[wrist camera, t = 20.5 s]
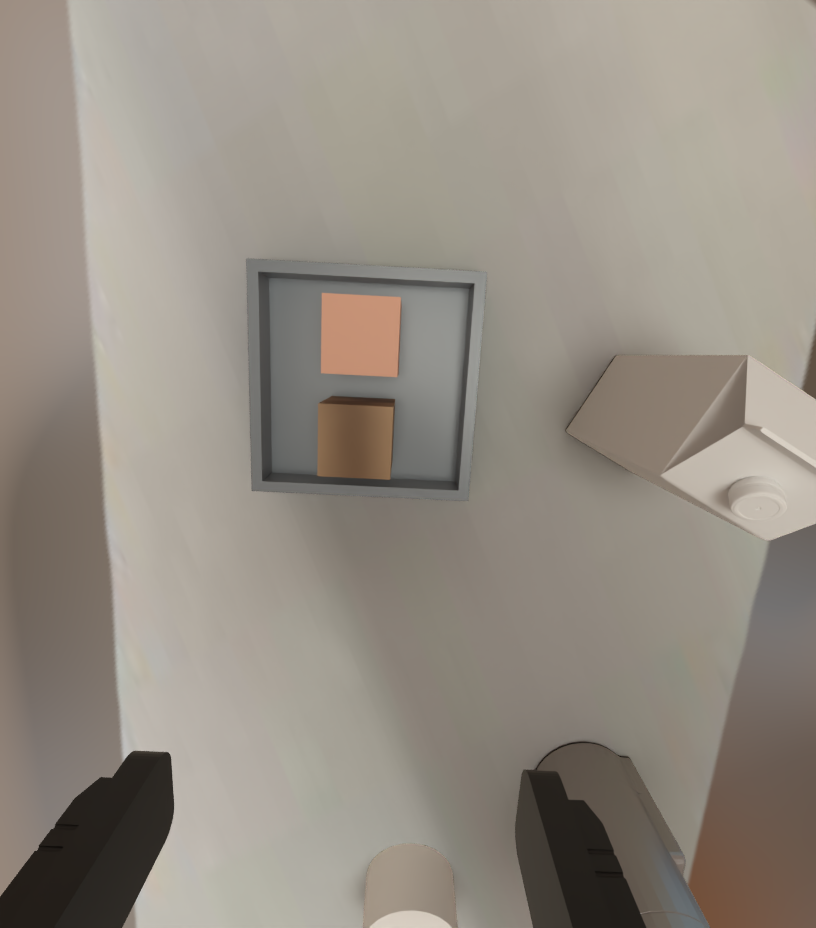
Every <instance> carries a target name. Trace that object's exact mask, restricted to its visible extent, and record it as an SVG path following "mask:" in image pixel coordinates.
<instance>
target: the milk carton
mask: <svg viewBox="0 0 816 928" xmlns="http://www.w3.org/2000/svg"><path fill="white" fill-rule="evenodd" d="M566 432H567V433H569V434H570V435H572V436H573V437H575V438H576V439H578V440H580V441H581V442H583V443H585V444H586V445H588V446H590V447H591V448H593V449H594V450H596V451H598V452H599V453H601V454H603V455H604V456H606V457H608V458H609V459H611V460H612V461H614V462H616V463H617V464H619V465H621V466H622V467H624V468H626V469H627V470H629V471H631V472H632V473H634V474H636V475H638V476H640V477H642V478H644V479H646V480H648V481H650V482H652V483H654V484H656V485H657V486H659V487H661V488H663V489H665V490H667V491H669V492H671V493H673V494H675V495H677V496H679V497H681V498H683V499H685V500H687V501H688V502H690V503H692V504H694V505H696V506H698V507H700V508H702V509H704V510H706V511H708V512H710V513H712V514H714V515H716V516H717V517H719V518H721V519H723V520H725V521H727V522H729V523H731V524H733V525H735V526H737V527H739V528H741V529H743V530H745V531H747V532H749V533H750V534H752V535H754V536H756V537H759V538H761V539H763V540H768V541H769V540H772V539H775V538H778V537H781V536H783V535H786V534H788V533H791V532H794V531H797V530H799V529H802V528H805V527H808V526H810V525H813V524H816V399H814V398H812V397H811V396H810V395H808V394H806V393H805V392H804V391H802V390H801V389H799V388H798V387H796V386H795V385H793V384H792V383H790V382H789V381H787V380H786V379H784V378H783V377H781V376H780V375H778V374H777V373H775V372H774V371H772V370H771V369H769V368H768V367H766V366H765V365H763V364H762V363H760V362H759V361H757V360H756V359H754V358H753V357H751V356H749V355H617V356H615V358H614V359H613V361H612V362H611V364H610V365H609V367H608V368H607V370H606V371H605V373H604V374H603V376H602V377H601V379H600V380H599V382H598V383H597V385H596V386H595V388H594V389H593V391H592V392H591V394H590V395H589V397H588V398H587V400H586V401H585V403H584V404H583V406H582V407H581V409H580V410H579V412H578V413H577V415H576V416H575V418H574V419H573V421H572V422H571V424H570V425H569V427H568V428H567V430H566Z"/></svg>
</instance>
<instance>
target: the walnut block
mask: <svg viewBox="0 0 816 928" xmlns="http://www.w3.org/2000/svg"><path fill="white" fill-rule="evenodd" d="M394 415H395V399H383V398H364V397H344V396H331V397H329V398H327V399H325V400H323V401H321V402H320V403H318V467H317V476H323V477H343V478H364V479H384V480H390V477H391V468H392V459H393V437H394Z"/></svg>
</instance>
